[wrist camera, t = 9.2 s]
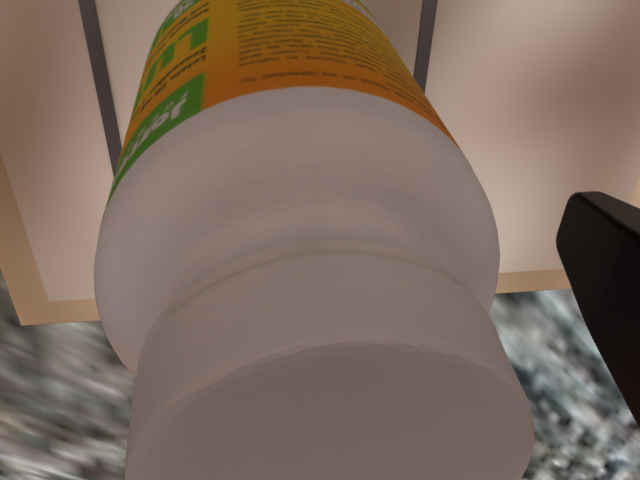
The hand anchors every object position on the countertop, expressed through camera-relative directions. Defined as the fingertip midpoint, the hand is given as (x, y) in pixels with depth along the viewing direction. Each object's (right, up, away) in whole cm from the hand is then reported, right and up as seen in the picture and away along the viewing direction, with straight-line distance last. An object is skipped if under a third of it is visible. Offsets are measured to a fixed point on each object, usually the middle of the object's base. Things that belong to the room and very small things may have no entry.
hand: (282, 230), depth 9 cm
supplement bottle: (-1, +3, +5) cm, 6 cm away
